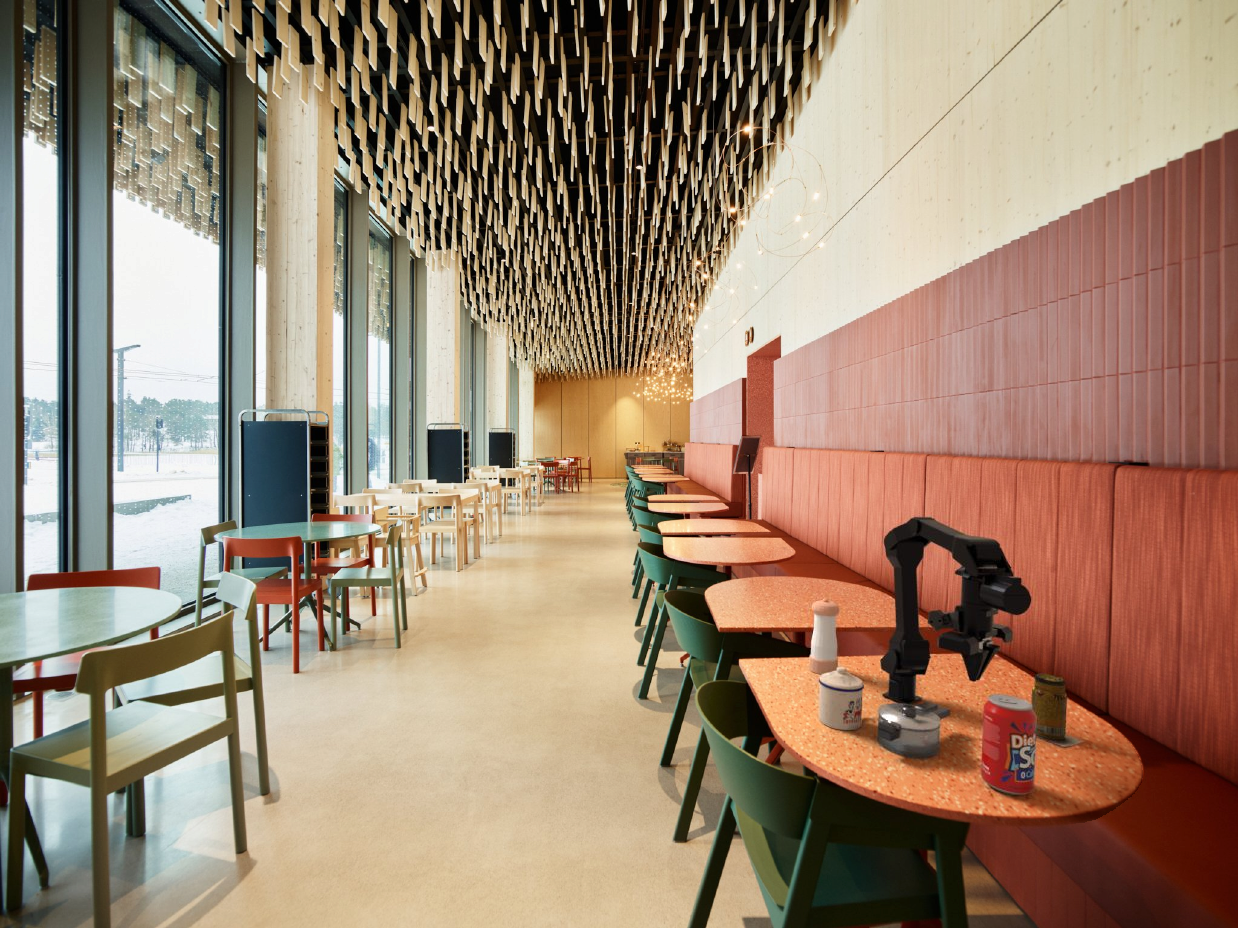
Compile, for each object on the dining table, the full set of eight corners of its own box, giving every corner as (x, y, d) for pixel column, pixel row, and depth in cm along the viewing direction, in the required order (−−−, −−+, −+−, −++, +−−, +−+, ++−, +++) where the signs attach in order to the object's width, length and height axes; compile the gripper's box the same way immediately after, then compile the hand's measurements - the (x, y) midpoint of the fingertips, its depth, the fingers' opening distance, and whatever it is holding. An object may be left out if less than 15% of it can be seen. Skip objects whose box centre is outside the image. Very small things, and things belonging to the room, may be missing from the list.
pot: (917, 719, 135) (918, 692, 135) (970, 739, 126) (971, 710, 126) (857, 744, 123) (858, 715, 122) (911, 768, 114) (912, 736, 113)
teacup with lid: (849, 735, 126) (851, 678, 126) (809, 720, 133) (811, 666, 133) (876, 719, 135) (878, 666, 134) (837, 706, 141) (838, 655, 141)
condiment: (1040, 725, 134) (1043, 670, 134) (1084, 742, 127) (1086, 683, 126) (1019, 730, 131) (1022, 674, 131) (1063, 748, 124) (1065, 688, 123)
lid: (906, 699, 133) (906, 689, 132) (960, 718, 123) (960, 707, 123) (863, 716, 124) (864, 705, 124) (918, 738, 115) (918, 726, 114)
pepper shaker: (811, 663, 170) (813, 594, 170) (839, 668, 167) (841, 597, 166) (806, 671, 163) (809, 599, 163) (835, 677, 160) (838, 603, 160)
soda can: (977, 770, 113) (980, 689, 113) (1028, 780, 110) (1031, 696, 110) (984, 792, 106) (987, 704, 106) (1038, 803, 103) (1042, 713, 103)
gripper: (959, 589, 135) (956, 660, 135) (912, 598, 124) (909, 676, 125) (1015, 599, 126) (1012, 676, 126) (970, 611, 115) (967, 694, 115)
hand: (974, 680), depth 123 cm, fingers closed
